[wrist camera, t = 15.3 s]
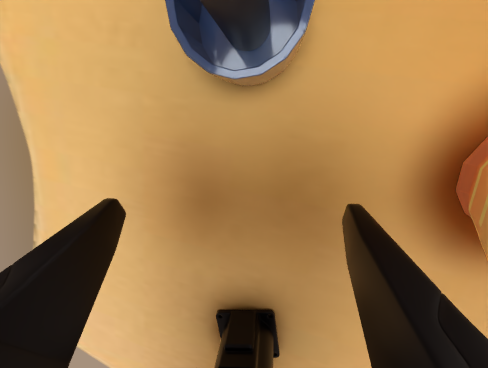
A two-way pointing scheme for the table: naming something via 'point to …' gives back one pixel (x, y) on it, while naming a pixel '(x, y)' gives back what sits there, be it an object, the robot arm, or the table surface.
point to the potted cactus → (476, 191)
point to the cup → (230, 58)
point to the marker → (241, 21)
